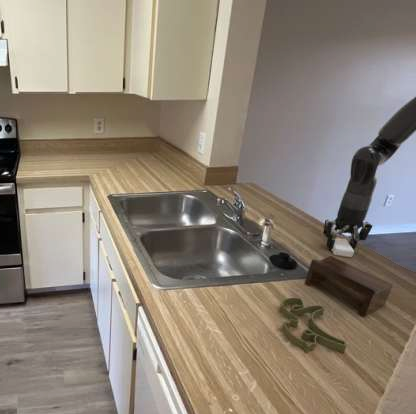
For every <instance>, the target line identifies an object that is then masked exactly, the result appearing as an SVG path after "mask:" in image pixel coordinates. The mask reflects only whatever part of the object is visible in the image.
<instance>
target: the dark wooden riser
mask: <svg viewBox="0 0 416 414" xmlns="http://www.w3.org/2000/svg"><path fill="white" fill-rule="evenodd" d="M327 278H329V279H330V280H332V281H334V282H336V283H338V284H340V285H342V286H344V287H346V288H348V289H349V290H352V291H354V292H356V293H358V294H360V295H362V296H364V297H365V298H364V301H363V304H362V306H361V308H360V311H359V313H358V314H359V316H360V317H363V318H366V317H367V316H369V315H371V314H372V313H374V312H376V311H378V310H379V309H381V308H383V307H384V306H386V303H387V301H388V298H389V296H390V294H391V291H392V289H393V286H394V284H393V283H391V282H389V281H386V280H384V279H383V278H380V277H377V276H375V275H373V274H371V273H369V272H367V271H365V270H362V269H360V268H358V267H356V266H354V265H351V264H349V263H347V262H345V261H343V260H341V259H338V258H336V257H334V256H332V255H330V256H327V257H325V258H322V259H319V260H317V259H315V258H313V259H311V261H310V264H309V268H308V270H307V274H306V278H305V282H304V285H305V286H306V287H310V286H312V285H314V284H316V283H319V282H320V281H323V280H326V279H327Z"/></svg>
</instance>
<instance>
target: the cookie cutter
mask: <svg viewBox="0 0 416 414" xmlns="http://www.w3.org/2000/svg"><path fill="white" fill-rule="evenodd" d="M287 305H288V306H289V305H292V307H291V310H289V309H288V308H286V307H285V306H287ZM280 312H281V314H282V315H283V316H284V317H285V318H287V319H288V321H283V323H282V327H281V329H282V332H283V334H284V336H285V337H286V338H287V340H288V341H289V342H291V343H292V344H293V345H295V346H296V347H299V348H301V349H303V351H304V352H305V354H308V353H309V352H310V351H314V350H315V347H316V345H317V344H320V345H321V346H324V347H326V348H329V349H332V350H334V351H336V352H340V353H345V351H346V349H347V342H346V340H343V339H340V338H338V337H337V336H336V337H335V336H334V335H332V334H329V333H328V332H326V331H325V330H323V329H322V328H320V326H319V325H318V324H317V323H316V321H315V320H314V319H315V318H317V317H320V316H323V314H324V312H325V308H324V306H322V305H321V304H320V305H319V304H315V305H307V306H305V302H304V300H303V299H302V298H301V297H288V298H287V297H286V298H285V299H283V300H282V303H281V306H280ZM309 313H312V314H311V317H310V320H309V327H310V328H311V330H310V329H309V328H308V329H307V328H305V329H303V332H302V335H301V338H300V337H298V336H296V335H294V334H293V332H292V331H290V330H289V329H290V327H293V328H297V327H298V325H299V322H300V319H299V318H298V316H301V315H304V314H309ZM308 342H310V343H309V344H308Z"/></svg>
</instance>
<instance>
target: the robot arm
mask: <svg viewBox="0 0 416 414" xmlns="http://www.w3.org/2000/svg"><path fill="white" fill-rule="evenodd" d="M414 133H416V96H415V97H414V96H413V98H412V99H410V100H409V101H408V102H406V103H405V104H404V105H402V107H400V108H399V109H398V110H397V111H396V112H395V113H394V114H393V115H392V116H391V117H390V118H389V119H388V120H387V121H386V122H385V123H384V124H383V125H382V126H381V128H380V129H379V131H378V132H377V136H376V137H375V138H374V139H373V141H371V143H370V144H368V145H366V146H362V147H360V148H359V149H357V150H356V151H355V152H354V154H353V156H352V158H351V163H350V173H349V174H350V177H349V180H348V183H347V186H346V189H345V191H344V193H343V196H342V198H341V201H340V205H339V208H338V211H337V214H336V215H337V216H336V218H335V219H334V220H329V219H325V220H324V225H323V236H324V237H325V238H327V241H326V244H325V245H326V246H327V248H328V249H329V250H331V249H333V246H334V243H335V239H336V238H339V237H340V236H342V234H350V236H351V238H350V239H349V241H348V243H349V244H350V246H351V247H352V249H353V250H354V251H355V249H356V248H357V245H358V242H360V241H366V240H367V238H368V237H369V234H370V232H371V230H372V228H373V224H371V223H369V221H365V220H366V217H367V215H368V211H369V208H370V206H371V203H372V199H373V194H374V192H375V189H376V186H377V183H378V179H377V177H376V173H377V170H378V168H379V167H380V166H382V165H384V164H385V163H387V162H388V161H389V160H390V159H391V158H392V157H393V156H394V155H395V154H396V153H397V151H398V150H399V149H400V148H401V146H402V144H404V143H405V142H406V141H407V140H408V139H409V138H410V137H412V136H413V134H414ZM364 221H365V222H364ZM359 229H360V231H359Z"/></svg>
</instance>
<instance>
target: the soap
mask: <svg viewBox="0 0 416 414" xmlns="http://www.w3.org/2000/svg"><path fill="white" fill-rule="evenodd" d="M330 250H331V252H332V253H333V255H334V256H339V257H344V258H345V257H346V258H352V257H354V254H355V249H354V250H353V249H352V247H351V246H350V244H349V241H348V240H347V239H346V238H339V237H337V238H336V239H335V243H334V246H333V249H330Z"/></svg>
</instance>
